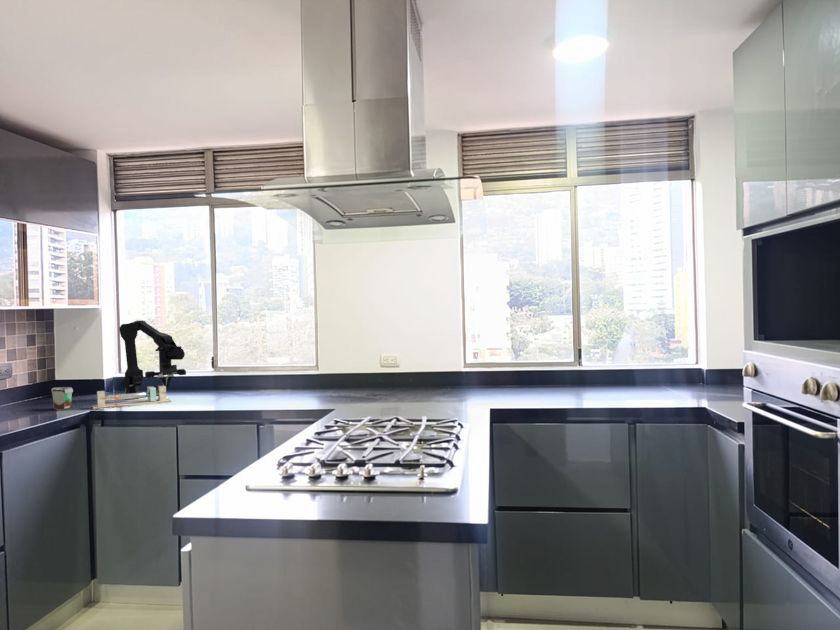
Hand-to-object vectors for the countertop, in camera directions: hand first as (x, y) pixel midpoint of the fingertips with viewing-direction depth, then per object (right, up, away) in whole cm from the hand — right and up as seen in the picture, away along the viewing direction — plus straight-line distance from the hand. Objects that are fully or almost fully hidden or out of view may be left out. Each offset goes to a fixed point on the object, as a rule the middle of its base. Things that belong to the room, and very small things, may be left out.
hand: (166, 390), depth 300 cm
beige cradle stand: (-11, -5, -14) cm, 18 cm away
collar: (-4, -4, -7) cm, 9 cm away
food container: (-40, -7, -19) cm, 45 cm away
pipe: (-11, -3, -14) cm, 17 cm away
